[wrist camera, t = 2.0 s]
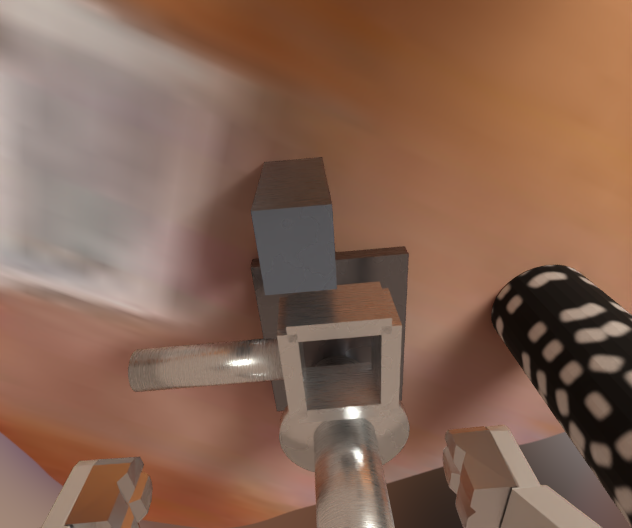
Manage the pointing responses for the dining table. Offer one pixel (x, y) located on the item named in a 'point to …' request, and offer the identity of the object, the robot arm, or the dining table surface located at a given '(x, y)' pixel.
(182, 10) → the dining table surface
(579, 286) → the spotted tube
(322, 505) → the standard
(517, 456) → the robot arm
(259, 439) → the dining table surface
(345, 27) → the dining table surface
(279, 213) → the brushed metal block
